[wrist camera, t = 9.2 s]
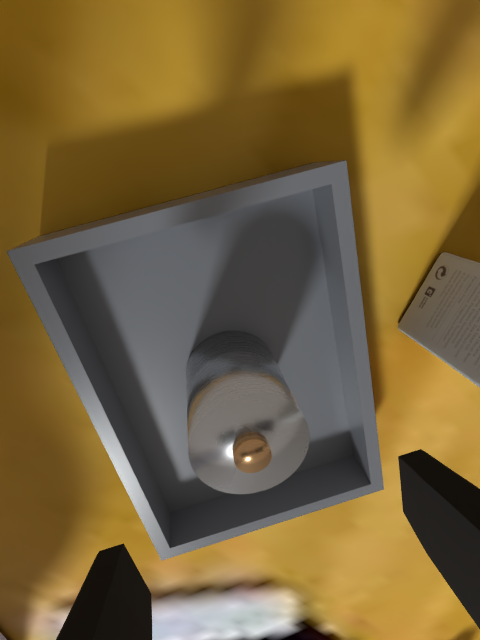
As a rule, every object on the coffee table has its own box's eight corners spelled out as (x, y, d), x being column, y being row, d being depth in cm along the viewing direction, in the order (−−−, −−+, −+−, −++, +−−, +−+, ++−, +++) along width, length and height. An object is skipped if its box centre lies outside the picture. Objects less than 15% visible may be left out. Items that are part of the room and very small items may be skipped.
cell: (200, 419, 17) (208, 520, 12) (173, 345, 16) (171, 426, 11) (281, 394, 18) (323, 484, 12) (263, 319, 16) (303, 387, 11)
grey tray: (163, 507, 20) (161, 560, 18) (39, 236, 14) (6, 251, 12) (356, 447, 21) (383, 489, 18) (315, 162, 15) (346, 160, 12)
